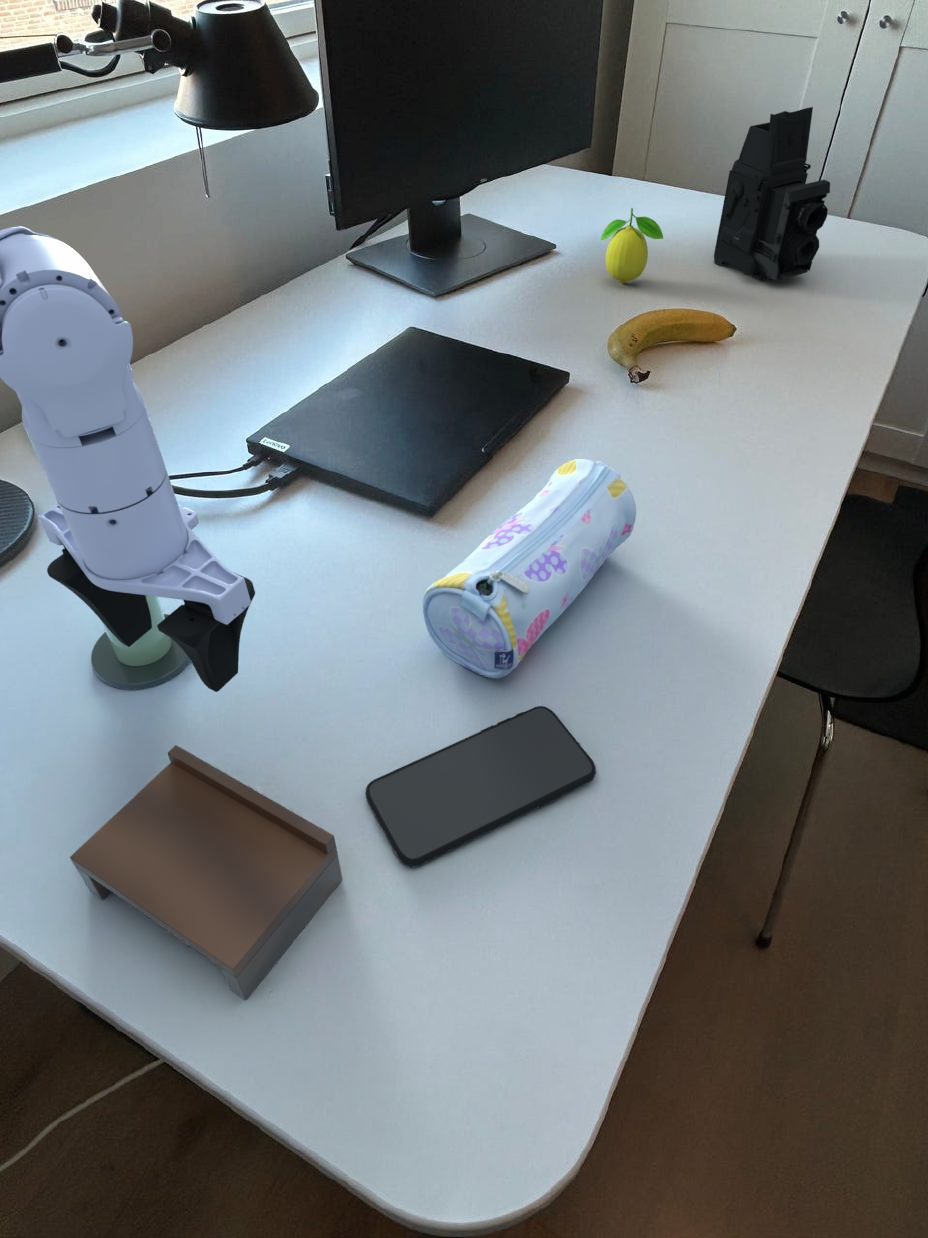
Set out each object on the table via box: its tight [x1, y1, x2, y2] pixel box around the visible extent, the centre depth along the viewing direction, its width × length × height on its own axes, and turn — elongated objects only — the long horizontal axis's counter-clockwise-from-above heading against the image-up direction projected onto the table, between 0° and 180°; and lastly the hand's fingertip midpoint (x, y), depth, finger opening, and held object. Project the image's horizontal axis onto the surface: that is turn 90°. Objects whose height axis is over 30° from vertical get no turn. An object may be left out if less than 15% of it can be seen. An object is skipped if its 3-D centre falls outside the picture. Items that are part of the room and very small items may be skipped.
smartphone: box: [365, 705, 597, 868], centre depth 60 cm, size 7×1×15 cm
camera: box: [713, 106, 831, 282], centre depth 116 cm, size 10×14×20 cm
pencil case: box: [422, 458, 637, 679], centre depth 70 cm, size 21×9×10 cm, turn 144°
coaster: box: [90, 612, 191, 690], centre depth 70 cm, size 8×8×1 cm
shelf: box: [69, 744, 343, 1001], centre depth 53 cm, size 9×13×5 cm
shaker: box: [101, 595, 172, 666], centre depth 67 cm, size 4×4×7 cm
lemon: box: [599, 207, 664, 285], centre depth 117 cm, size 7×6×10 cm
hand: (179, 657), depth 56 cm, fingers open, 7 cm apart
